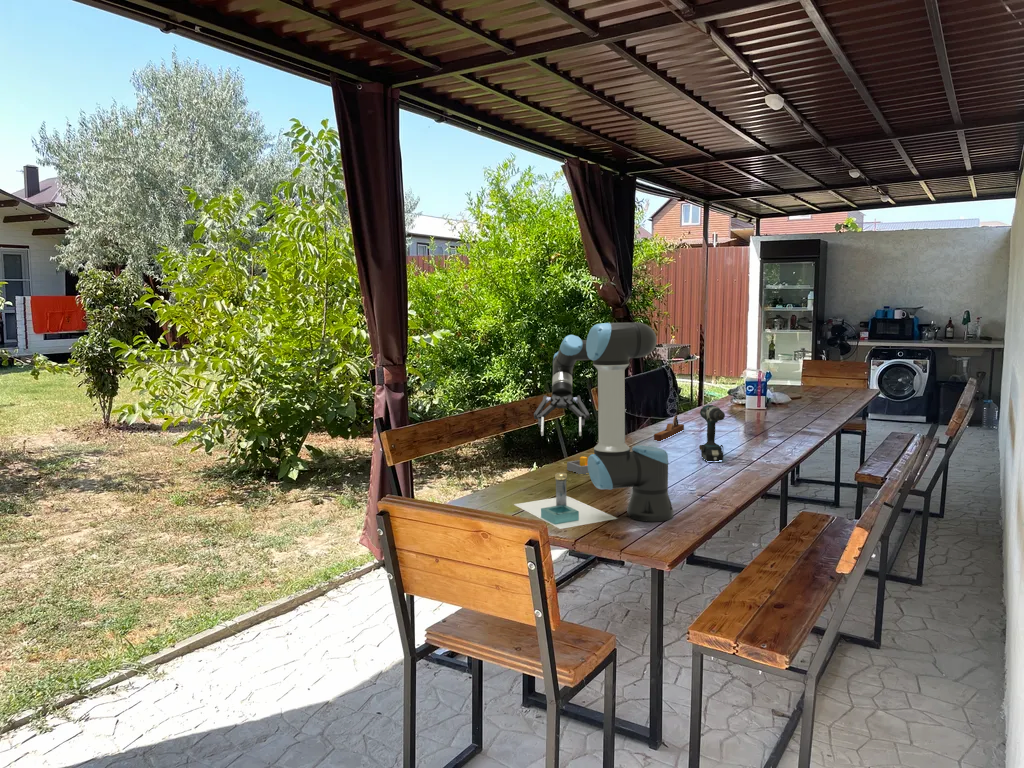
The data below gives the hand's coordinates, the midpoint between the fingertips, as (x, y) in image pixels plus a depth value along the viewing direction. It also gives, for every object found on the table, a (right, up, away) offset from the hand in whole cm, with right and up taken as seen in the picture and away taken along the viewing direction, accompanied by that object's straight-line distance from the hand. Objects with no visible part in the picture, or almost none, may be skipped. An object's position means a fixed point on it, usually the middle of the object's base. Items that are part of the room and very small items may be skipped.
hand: (561, 433), depth 260 cm
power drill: (+72, -17, +61) cm, 96 cm away
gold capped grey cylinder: (0, -25, -8) cm, 26 cm away
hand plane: (+65, -10, +122) cm, 139 cm away
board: (0, -26, -13) cm, 29 cm away
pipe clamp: (+17, -19, +50) cm, 56 cm away
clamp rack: (+17, -19, +50) cm, 56 cm away
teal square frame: (-2, -26, -22) cm, 34 cm away
